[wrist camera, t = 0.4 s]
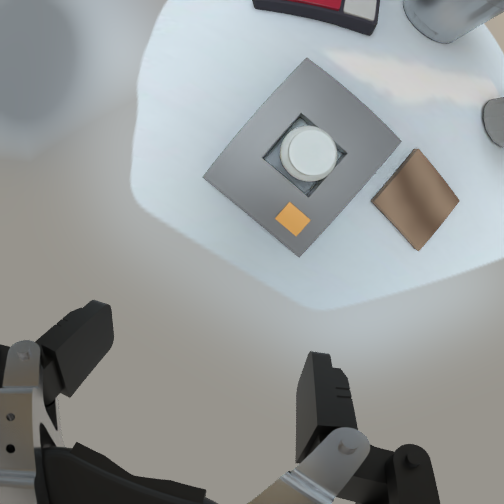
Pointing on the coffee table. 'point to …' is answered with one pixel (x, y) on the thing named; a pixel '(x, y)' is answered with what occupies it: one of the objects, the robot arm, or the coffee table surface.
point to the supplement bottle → (308, 153)
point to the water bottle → (495, 120)
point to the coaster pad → (416, 199)
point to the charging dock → (277, 185)
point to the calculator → (329, 11)
